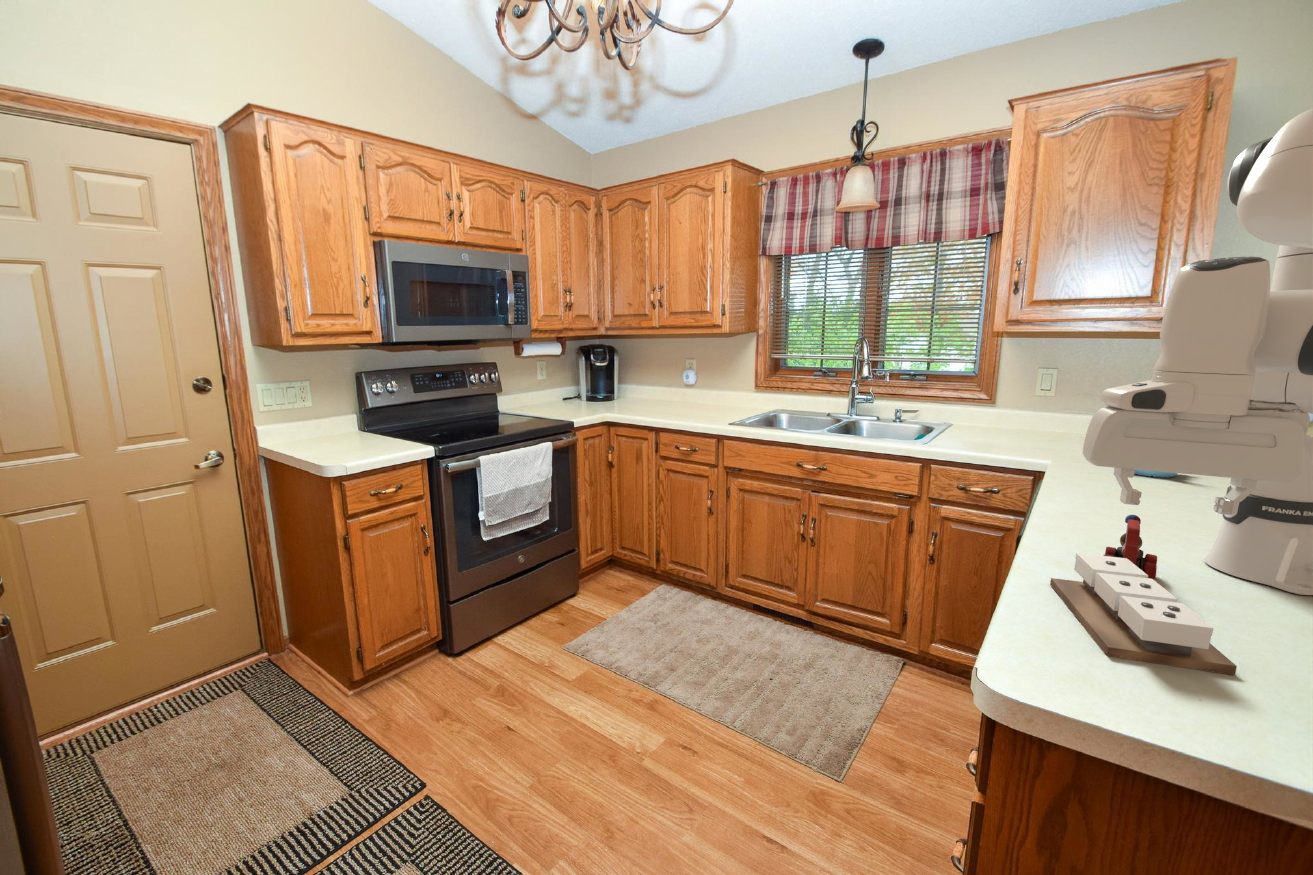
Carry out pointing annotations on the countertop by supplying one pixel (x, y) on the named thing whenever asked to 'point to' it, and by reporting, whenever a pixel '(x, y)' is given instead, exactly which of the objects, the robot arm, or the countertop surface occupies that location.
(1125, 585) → the two-pip tile
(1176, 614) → the three-pip tile
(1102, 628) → the walnut board
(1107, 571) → the one-pip tile
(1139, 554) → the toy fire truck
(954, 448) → the countertop surface
